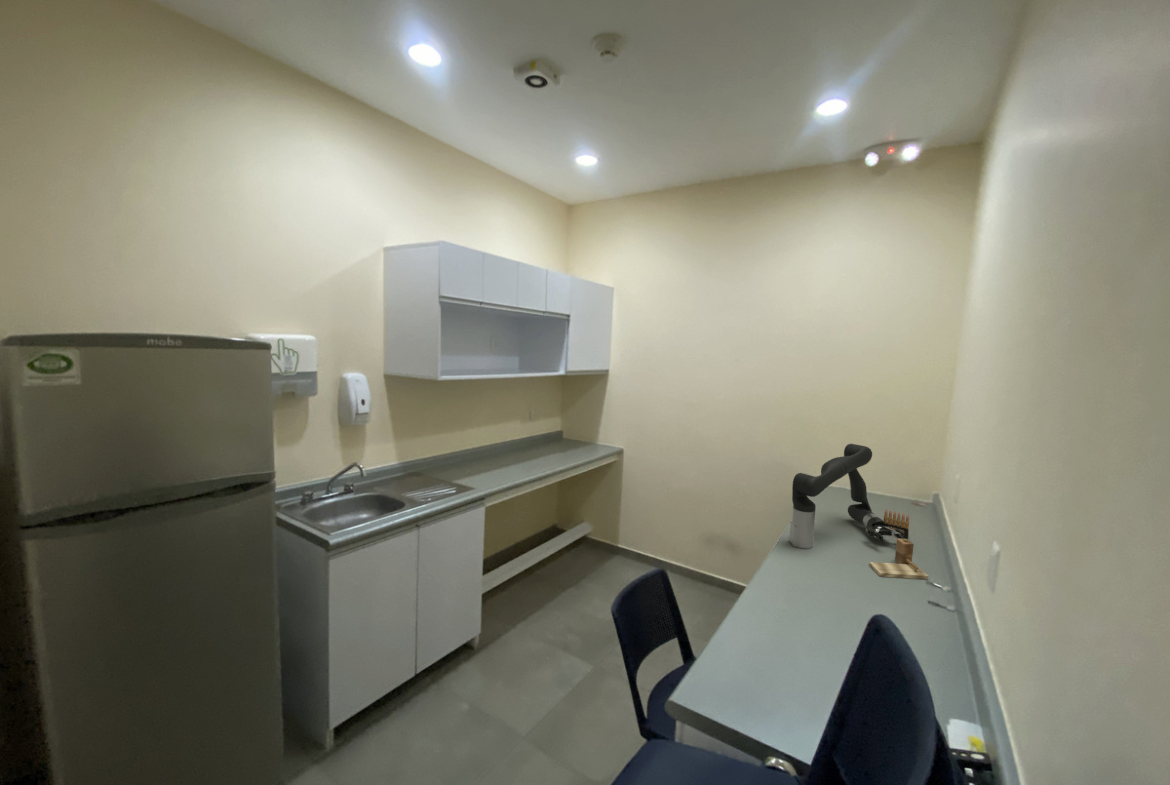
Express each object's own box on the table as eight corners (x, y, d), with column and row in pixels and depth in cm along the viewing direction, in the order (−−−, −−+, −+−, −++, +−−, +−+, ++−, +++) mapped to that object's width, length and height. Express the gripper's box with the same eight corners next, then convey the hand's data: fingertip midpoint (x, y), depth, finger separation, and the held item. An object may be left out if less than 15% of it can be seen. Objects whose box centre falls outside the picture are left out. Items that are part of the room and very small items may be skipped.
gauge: (911, 575, 189) (913, 550, 188) (894, 560, 201) (897, 536, 200) (921, 576, 189) (924, 550, 187) (904, 560, 201) (907, 537, 199)
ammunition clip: (908, 538, 223) (910, 514, 221) (907, 539, 221) (910, 515, 220) (882, 531, 230) (884, 508, 228) (881, 532, 229) (883, 509, 227)
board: (879, 576, 188) (880, 572, 188) (869, 565, 197) (869, 561, 197) (928, 579, 186) (928, 575, 186) (915, 568, 195) (915, 564, 195)
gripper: (859, 516, 224) (876, 530, 208) (891, 517, 222) (910, 532, 206) (858, 530, 225) (874, 546, 209) (890, 532, 223) (908, 548, 207)
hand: (892, 539), depth 207 cm, fingers open, 8 cm apart
